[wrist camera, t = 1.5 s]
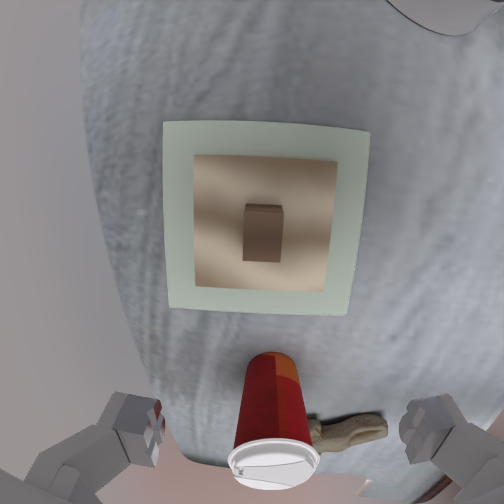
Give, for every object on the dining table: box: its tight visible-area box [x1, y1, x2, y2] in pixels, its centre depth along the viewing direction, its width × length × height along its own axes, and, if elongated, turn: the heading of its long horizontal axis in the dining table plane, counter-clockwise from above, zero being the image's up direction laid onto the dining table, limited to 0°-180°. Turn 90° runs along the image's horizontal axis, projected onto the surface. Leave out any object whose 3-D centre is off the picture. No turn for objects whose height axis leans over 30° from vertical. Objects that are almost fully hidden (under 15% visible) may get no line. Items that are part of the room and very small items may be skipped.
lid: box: [193, 155, 338, 292], centre depth 26 cm, size 12×12×4 cm
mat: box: [163, 120, 371, 316], centre depth 28 cm, size 18×18×1 cm
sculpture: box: [307, 414, 388, 455], centre depth 36 cm, size 7×5×15 cm
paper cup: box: [228, 352, 320, 490], centre depth 28 cm, size 8×8×14 cm
